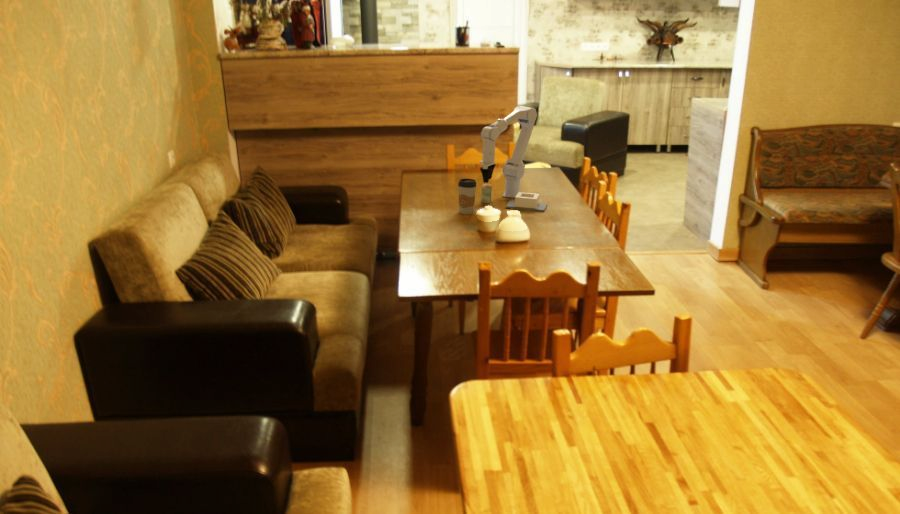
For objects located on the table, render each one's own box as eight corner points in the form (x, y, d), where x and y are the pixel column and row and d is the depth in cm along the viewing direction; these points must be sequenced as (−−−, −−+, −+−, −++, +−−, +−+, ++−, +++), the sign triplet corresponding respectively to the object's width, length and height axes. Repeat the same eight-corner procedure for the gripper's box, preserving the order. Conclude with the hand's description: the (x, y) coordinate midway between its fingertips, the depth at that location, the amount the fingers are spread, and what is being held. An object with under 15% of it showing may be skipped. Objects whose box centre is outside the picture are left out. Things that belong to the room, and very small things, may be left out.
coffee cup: (453, 213, 313) (454, 181, 308) (462, 208, 320) (463, 177, 315) (470, 216, 310) (471, 183, 304) (478, 211, 317) (479, 179, 311)
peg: (482, 200, 335) (483, 184, 332) (490, 201, 334) (491, 184, 331) (481, 202, 332) (482, 186, 329) (489, 203, 331) (490, 186, 328)
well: (510, 201, 334) (510, 190, 332) (547, 205, 330) (548, 194, 328) (505, 208, 323) (506, 196, 321) (544, 212, 319) (544, 200, 317)
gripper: (483, 148, 332) (482, 176, 337) (477, 154, 319) (476, 183, 323) (497, 150, 330) (496, 177, 335) (492, 156, 317) (490, 184, 322)
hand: (487, 180), depth 329 cm, fingers open, 7 cm apart
